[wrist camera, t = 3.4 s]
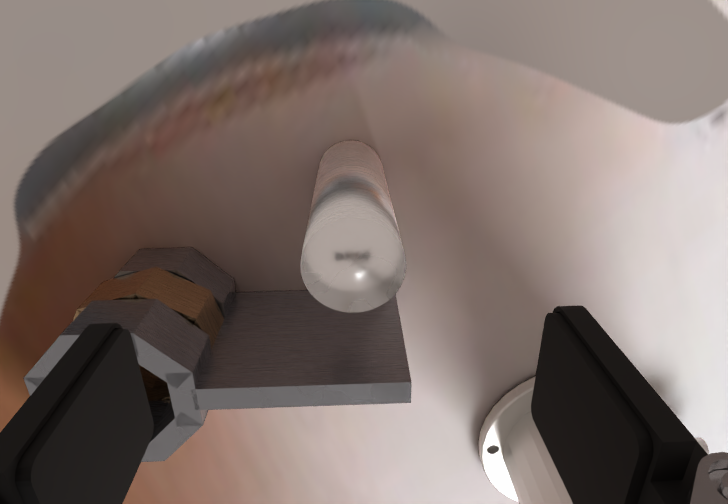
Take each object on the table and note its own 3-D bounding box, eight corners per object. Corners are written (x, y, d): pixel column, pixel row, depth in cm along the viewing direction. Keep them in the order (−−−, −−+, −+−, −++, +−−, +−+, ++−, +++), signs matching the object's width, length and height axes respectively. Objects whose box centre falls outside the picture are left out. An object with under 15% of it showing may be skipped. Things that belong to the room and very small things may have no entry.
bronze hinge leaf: (138, 227, 29) (55, 307, 21) (256, 280, 30) (223, 375, 22) (57, 429, 35) (-32, 553, 27) (160, 464, 36) (106, 591, 28)
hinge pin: (382, 139, 27) (407, 216, 16) (382, 202, 29) (405, 311, 18) (316, 141, 27) (296, 218, 16) (320, 203, 29) (303, 314, 18)
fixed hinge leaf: (129, 353, 32) (55, 465, 24) (102, 249, 29) (7, 336, 21) (393, 345, 33) (409, 452, 25) (394, 241, 30) (413, 324, 21)
